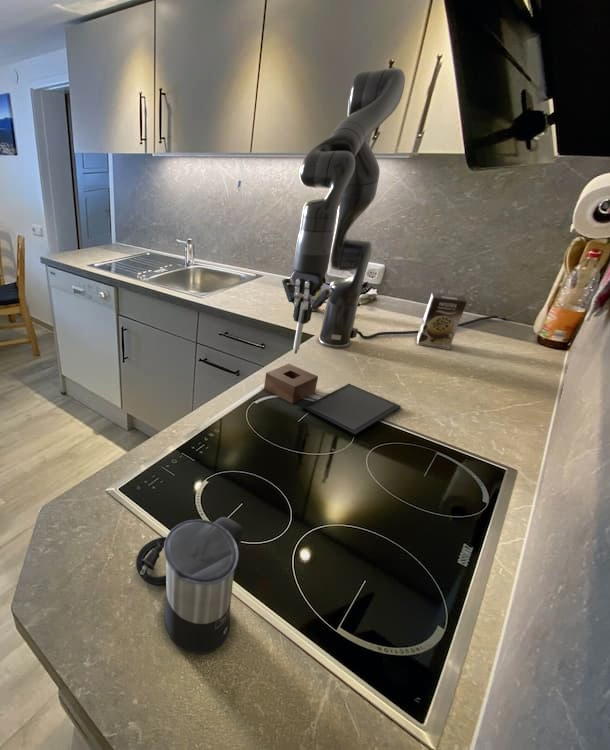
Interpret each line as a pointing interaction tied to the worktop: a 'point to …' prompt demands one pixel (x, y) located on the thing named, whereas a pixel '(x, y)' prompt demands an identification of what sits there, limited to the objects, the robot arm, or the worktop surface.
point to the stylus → (298, 330)
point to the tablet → (351, 409)
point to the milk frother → (196, 580)
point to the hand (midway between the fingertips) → (300, 321)
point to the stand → (290, 383)
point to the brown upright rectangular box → (441, 320)
